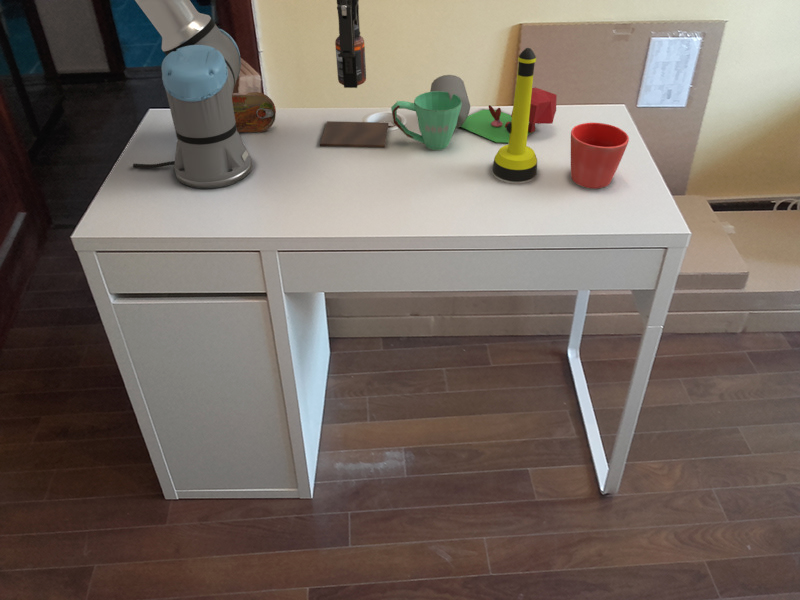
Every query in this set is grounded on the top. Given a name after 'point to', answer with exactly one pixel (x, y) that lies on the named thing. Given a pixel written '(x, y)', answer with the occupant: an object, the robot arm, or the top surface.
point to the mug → (431, 118)
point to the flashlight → (519, 130)
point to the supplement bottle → (359, 58)
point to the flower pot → (596, 153)
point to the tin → (253, 111)
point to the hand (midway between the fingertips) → (352, 80)
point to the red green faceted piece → (496, 122)
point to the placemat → (355, 134)
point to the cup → (453, 87)
